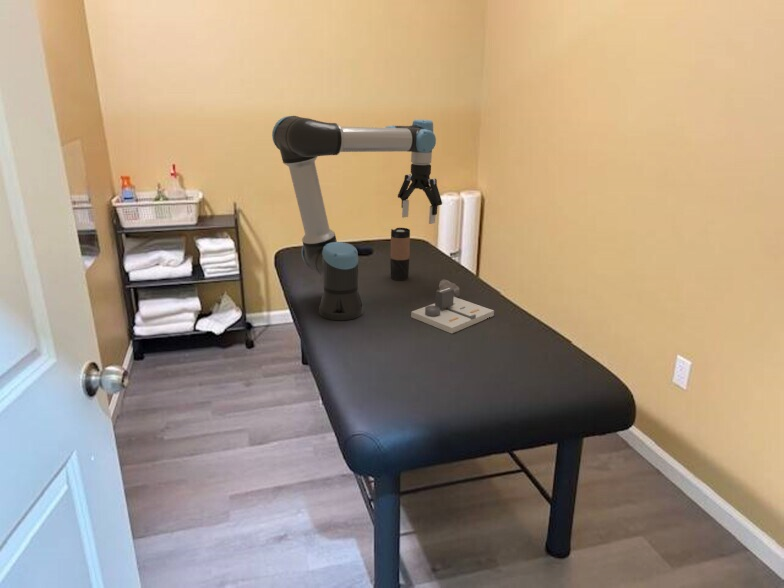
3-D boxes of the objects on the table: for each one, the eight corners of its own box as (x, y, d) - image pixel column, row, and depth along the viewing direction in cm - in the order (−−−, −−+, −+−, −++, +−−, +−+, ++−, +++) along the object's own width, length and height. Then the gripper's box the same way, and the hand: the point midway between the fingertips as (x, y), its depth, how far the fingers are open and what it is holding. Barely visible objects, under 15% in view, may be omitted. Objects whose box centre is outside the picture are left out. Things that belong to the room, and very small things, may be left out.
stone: (442, 302, 207) (443, 287, 205) (430, 294, 216) (430, 279, 214) (462, 299, 210) (462, 284, 208) (449, 291, 219) (449, 277, 217)
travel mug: (408, 281, 228) (410, 232, 221) (389, 280, 228) (390, 232, 221) (408, 275, 236) (410, 227, 229) (390, 274, 236) (391, 227, 229)
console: (451, 333, 181) (452, 322, 180) (411, 317, 194) (411, 306, 192) (493, 315, 196) (494, 305, 194) (453, 301, 208) (453, 291, 207)
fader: (441, 309, 194) (442, 292, 191) (435, 307, 196) (435, 290, 193) (453, 305, 197) (454, 288, 195) (446, 303, 199) (447, 286, 197)
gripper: (454, 166, 205) (450, 224, 212) (403, 159, 221) (401, 213, 228) (440, 168, 200) (437, 227, 207) (389, 160, 216) (388, 215, 223)
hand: (418, 220), depth 218 cm, fingers open, 13 cm apart
